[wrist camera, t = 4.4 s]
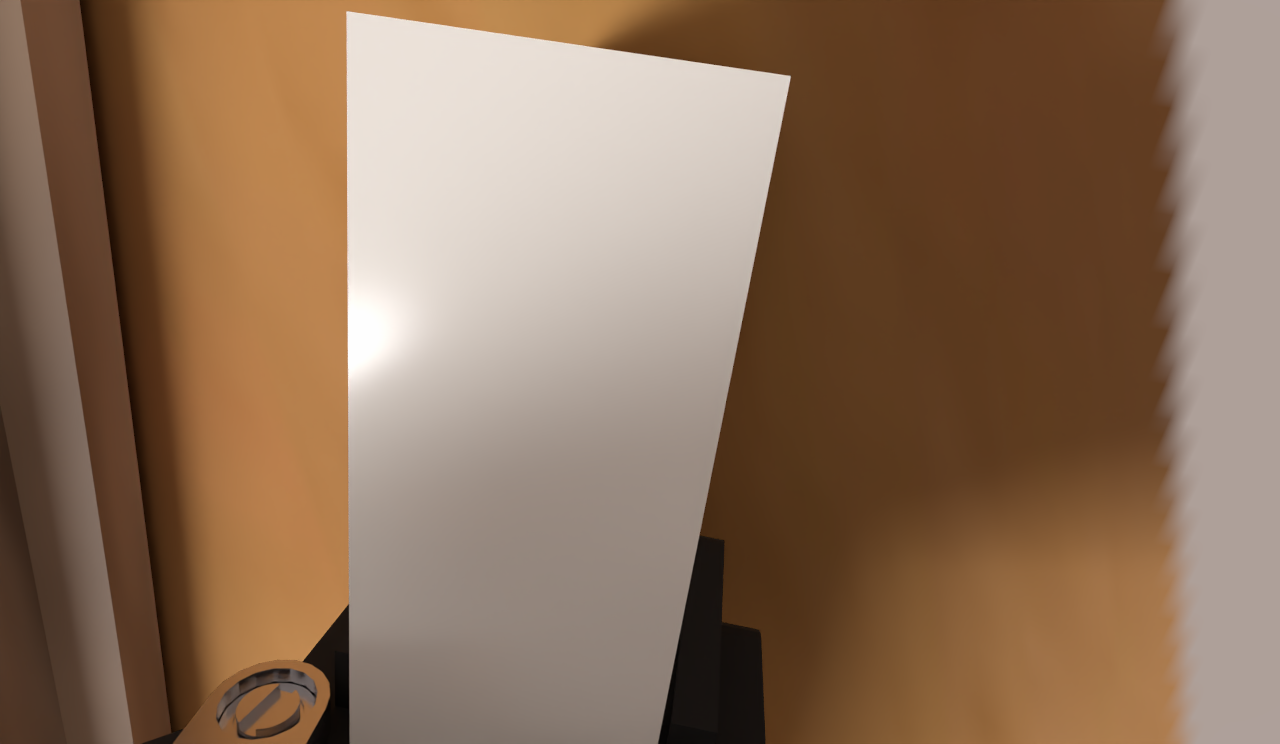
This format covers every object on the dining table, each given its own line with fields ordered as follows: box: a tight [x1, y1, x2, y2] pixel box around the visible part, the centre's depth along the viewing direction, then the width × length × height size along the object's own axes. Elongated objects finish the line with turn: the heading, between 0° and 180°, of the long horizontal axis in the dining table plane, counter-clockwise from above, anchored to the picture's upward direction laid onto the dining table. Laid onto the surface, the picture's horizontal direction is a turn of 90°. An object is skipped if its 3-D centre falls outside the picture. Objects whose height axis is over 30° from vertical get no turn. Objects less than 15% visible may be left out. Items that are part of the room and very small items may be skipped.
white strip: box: [347, 11, 791, 744], centre depth 10 cm, size 3×16×6 cm, turn 172°
